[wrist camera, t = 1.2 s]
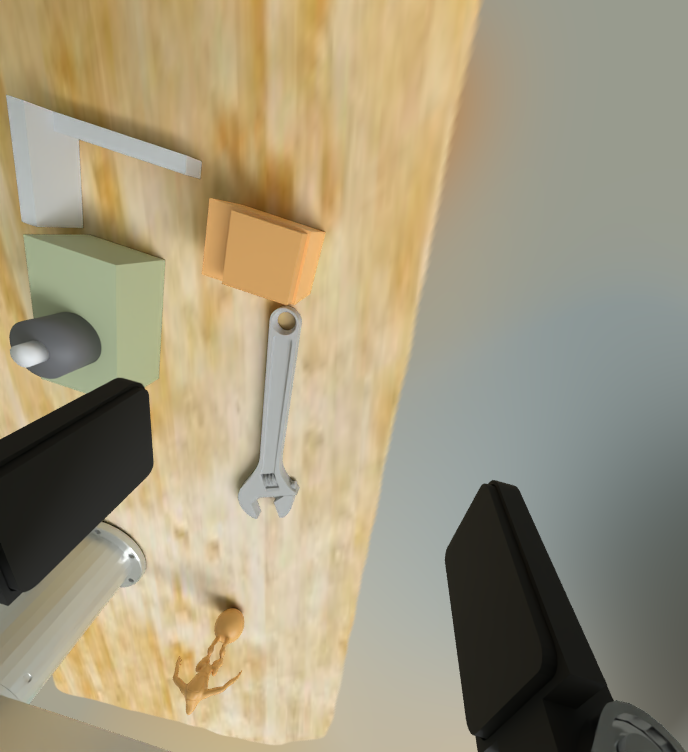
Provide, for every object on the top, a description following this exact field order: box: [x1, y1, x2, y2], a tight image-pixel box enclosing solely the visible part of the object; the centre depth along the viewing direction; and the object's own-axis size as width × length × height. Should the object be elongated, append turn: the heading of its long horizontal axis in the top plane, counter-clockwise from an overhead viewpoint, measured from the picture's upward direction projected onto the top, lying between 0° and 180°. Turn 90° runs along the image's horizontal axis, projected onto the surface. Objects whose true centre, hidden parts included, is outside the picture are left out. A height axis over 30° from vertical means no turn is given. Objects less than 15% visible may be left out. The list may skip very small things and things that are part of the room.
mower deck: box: [6, 95, 202, 394], centre depth 24 cm, size 20×11×10 cm, turn 163°
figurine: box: [173, 608, 244, 715], centre depth 42 cm, size 8×6×12 cm
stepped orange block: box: [202, 198, 326, 305], centre depth 24 cm, size 5×7×6 cm
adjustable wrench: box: [238, 306, 302, 519], centre depth 33 cm, size 25×6×2 cm, turn 165°
